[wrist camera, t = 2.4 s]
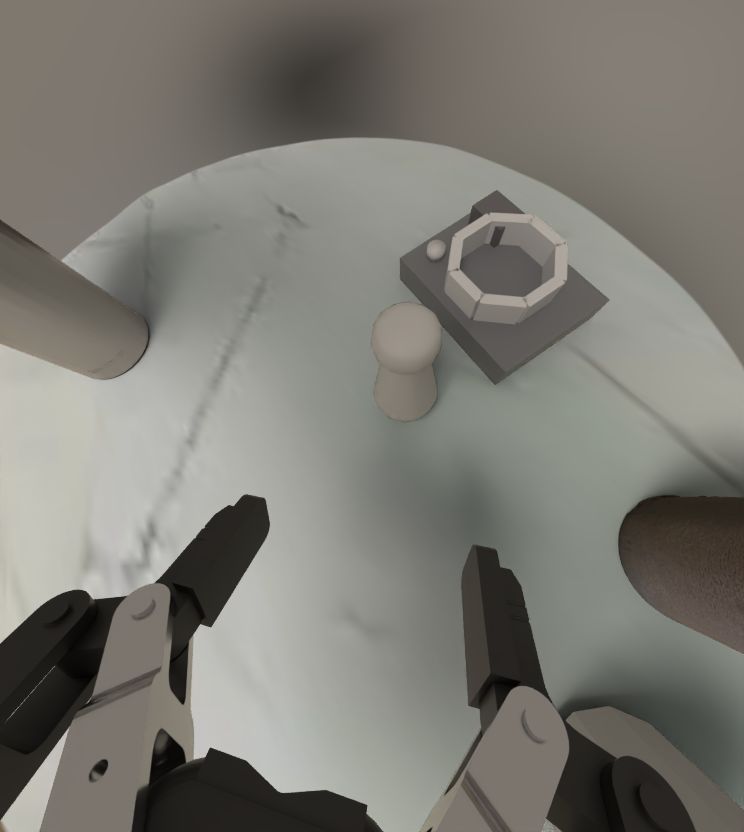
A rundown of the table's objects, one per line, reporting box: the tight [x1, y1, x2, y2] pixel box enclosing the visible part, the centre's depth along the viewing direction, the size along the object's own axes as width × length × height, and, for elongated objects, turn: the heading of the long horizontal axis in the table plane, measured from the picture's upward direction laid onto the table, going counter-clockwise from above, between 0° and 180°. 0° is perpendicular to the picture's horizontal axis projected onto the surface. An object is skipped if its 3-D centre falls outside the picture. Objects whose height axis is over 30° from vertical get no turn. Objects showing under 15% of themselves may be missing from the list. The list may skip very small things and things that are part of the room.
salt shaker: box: [371, 302, 442, 422], centre depth 23 cm, size 6×6×13 cm
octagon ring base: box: [400, 190, 609, 385], centre depth 28 cm, size 16×12×6 cm
